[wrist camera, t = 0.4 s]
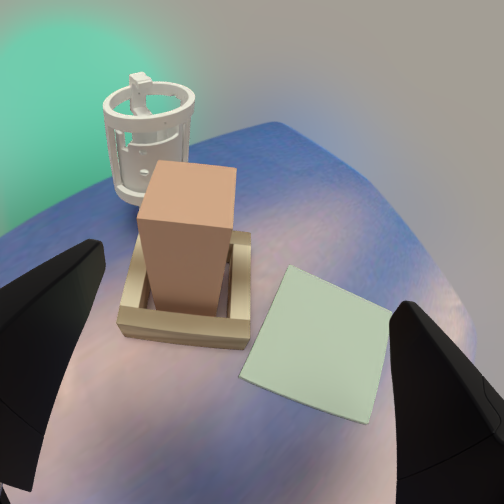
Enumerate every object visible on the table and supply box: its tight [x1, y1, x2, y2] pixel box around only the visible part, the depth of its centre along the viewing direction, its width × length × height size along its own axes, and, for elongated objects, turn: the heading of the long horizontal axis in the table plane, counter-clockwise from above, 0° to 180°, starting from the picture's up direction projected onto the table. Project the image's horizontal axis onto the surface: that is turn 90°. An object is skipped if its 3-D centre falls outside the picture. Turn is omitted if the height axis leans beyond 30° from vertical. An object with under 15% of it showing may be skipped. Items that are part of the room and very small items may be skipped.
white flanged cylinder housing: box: [103, 72, 195, 209], centre depth 23 cm, size 7×7×15 cm
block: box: [137, 160, 237, 317], centre depth 21 cm, size 5×5×12 cm
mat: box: [238, 264, 392, 425], centre depth 24 cm, size 12×12×1 cm
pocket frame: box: [116, 231, 251, 350], centre depth 24 cm, size 10×10×3 cm
